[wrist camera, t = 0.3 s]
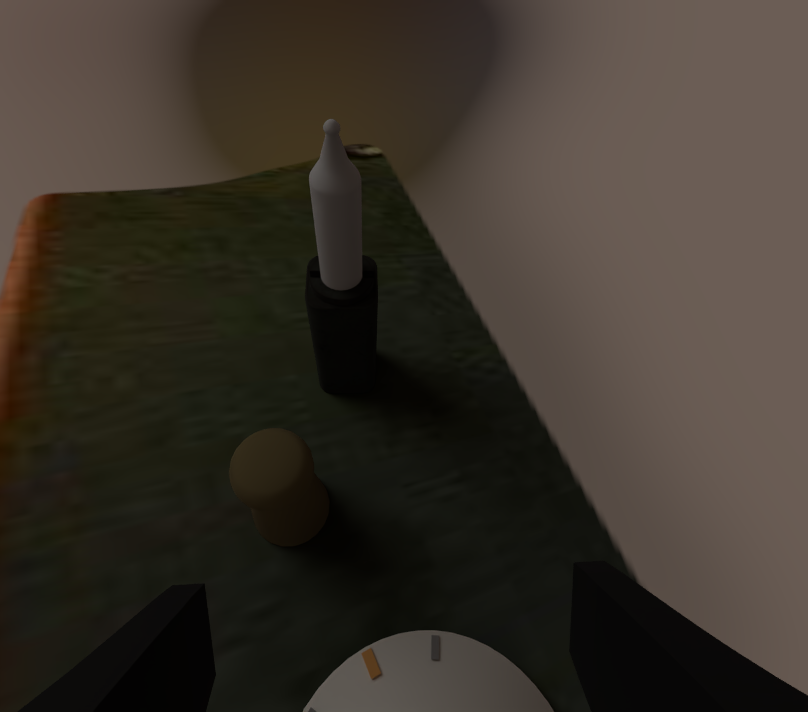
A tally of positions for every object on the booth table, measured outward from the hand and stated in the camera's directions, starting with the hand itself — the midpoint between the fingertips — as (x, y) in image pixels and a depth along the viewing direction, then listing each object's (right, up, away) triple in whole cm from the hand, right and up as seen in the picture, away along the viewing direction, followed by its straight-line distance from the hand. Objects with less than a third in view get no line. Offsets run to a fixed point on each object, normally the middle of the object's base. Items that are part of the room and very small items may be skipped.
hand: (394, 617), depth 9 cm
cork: (-9, -7, +29) cm, 31 cm away
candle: (-5, +4, +36) cm, 37 cm away
